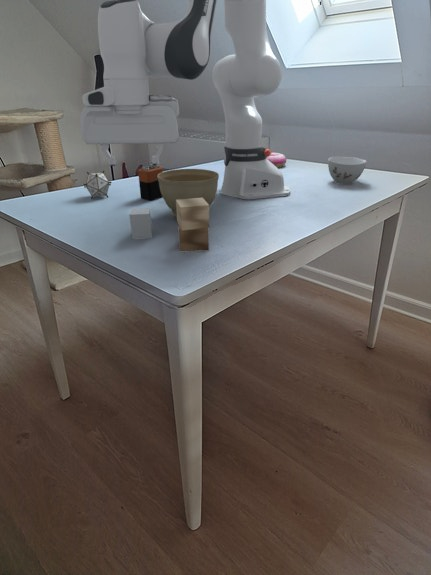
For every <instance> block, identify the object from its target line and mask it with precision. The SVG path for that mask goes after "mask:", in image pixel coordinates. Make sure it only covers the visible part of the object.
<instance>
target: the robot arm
mask: <svg viewBox="0 0 431 575" xmlns="http://www.w3.org/2000/svg"><path fill="white" fill-rule="evenodd" d="M223 2H224V3H223V4H224V6H223V7H224V27H225V31H226V32H227V34H228V35H229V37H230V38H231V41H232V45H233V48H234V54H229V55H226V56H225V57H223V58H221V59H218V61H217V62H216V63H215V65H214V66H213V69H212V74H211V77H212V78H211V80H212V83H213V86H214V87H215V89H216V90H217V92H218V95H219V97H220V102H221V104H222V108H223V114H224V122H225V146H224V149H223V163H224V174H223V181H222V186H221V189H220V192H221V194H222V195H225V196H228V197H233V198H234V197H235V198H238V199H242V200H253V199H255V200H256V199H257V200H258V199H265V198H277V197H278V198H279V197H284V196H285V197H286V196H289V195H290V194H291V189H290V187H289V186H288V185H287V184H285V181H284V175H283V173H282V171H281V170H280V169H279V168H277V167H276V166H275V165H273V164H272V163H271V162H270V161H269V160H267V159H266V158H267V157H269V156H270V155H271V153H272V151H271V149H269V148H266V147H264V146H263V145H262V140H263V139H262V137H263V136H262V135H263V118H262V116H261V114H260V113H259V112H258V110H257V107H256V104H255V99H254V98H262V97H265V96H269V95H271V94H273V93H274V92H276V91H277V89H278V88H279V86H280V83H281V81H282V76H283V74H282V73H283V70H282V65H281V63H280V61H279V59H278V58H277V57H276V56H275V54H274V53H273V50H272V47H271V44H270V40H269V36H268V31H267V30H268V29H267V0H224V1H223ZM216 5H217V0H188V1H187V6H186V12H185V14H184V16H182V17H181V18H179V19H178V20H175V21H174V22H173V21H172V22H163V23H155V21H152V20H151V19H149V18H148V17H147V15H146V14H145V13H144V12H143V11H142V10H141V5H140V1H138V0H107V1H104V2H103V3H102V4H101V5H99V8H98V12H97V13H98V14H97V34H98V44H99V51H100V57H101V59H102V62H103V76H102V77H103V86H102V87H96V88H95V89H94V90H92V91H89V92H86V93H84V94H82V96H81V98H82V103H83V105H84V106H85V107H84V108H83V109H82V111H81V113H80V132H81V133H80V134H81V139H82V141H83V142H84V143H85V144H86V145H100V150H101V152H102V153H103V155H104V156H105V157H106V158H107V164H108V166H109V167H115V166H117V161H116V160H117V158H116V157H117V156H116V155H114V156H112V153H110V151H109V150H108V149H110V145H128V144H129V145H131V144H132V145H133V144H137V145H138V144H140V145H141V144H143V145H144V144H145V145H146V144H147V145H148V144H155V146H156V149H158V150H157V152H156V154H155V155H151V164H152V165H157V166H159V165H160V156H161V153H162V151H163V150H164V144H176V143H177V142H178V141H179V140H180V136H179V135H180V134H179V126H178V120H177V119H178V117H179V116H180V104H179V101H178V100H177V98H175V97H172V95H169V94H166V95H158V94H155V95H154V94H153V95H150V86H149V78H160V79H161V78H163V79H165V78H177V79H184V80H191V81H193V80H195V79H197V78H198V77H200V76H201V75H202V73H203V72H204V71H205V69H206V68H207V66H208V63H209V61H210V58H211V57H210V55H211V34H212V26H213V22H214V16H215V11H216V7H217V6H216Z"/></svg>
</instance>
